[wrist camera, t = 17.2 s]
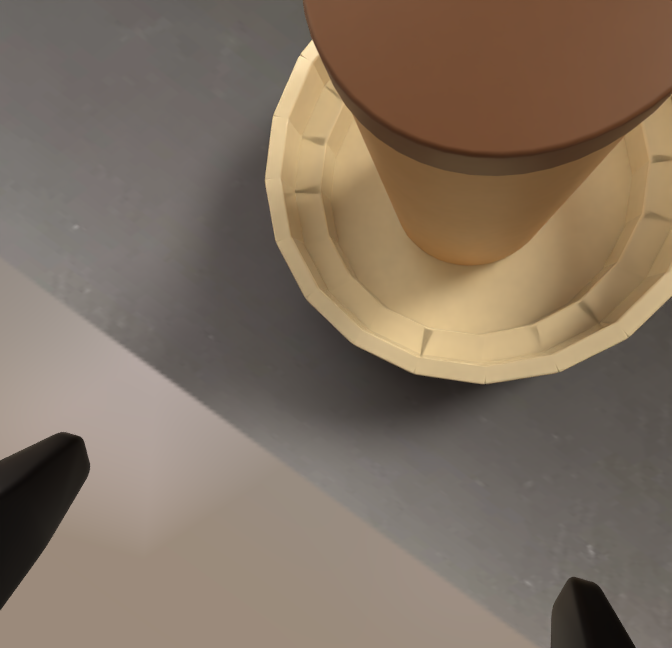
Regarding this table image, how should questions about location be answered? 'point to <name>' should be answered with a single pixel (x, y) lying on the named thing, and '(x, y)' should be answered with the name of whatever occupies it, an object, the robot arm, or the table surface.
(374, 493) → the table surface
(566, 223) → the bowl
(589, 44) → the canister
